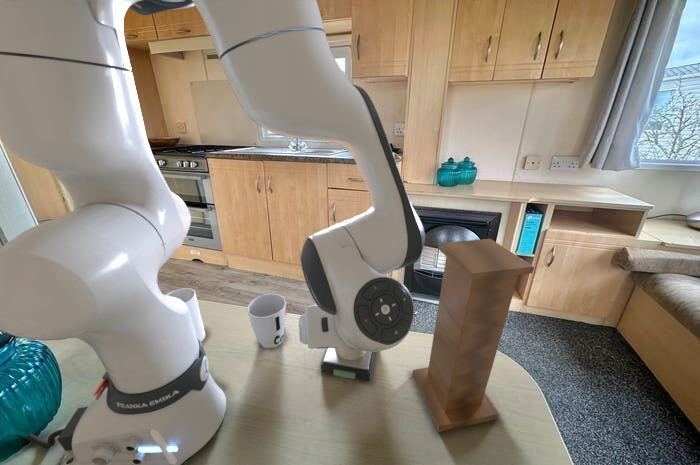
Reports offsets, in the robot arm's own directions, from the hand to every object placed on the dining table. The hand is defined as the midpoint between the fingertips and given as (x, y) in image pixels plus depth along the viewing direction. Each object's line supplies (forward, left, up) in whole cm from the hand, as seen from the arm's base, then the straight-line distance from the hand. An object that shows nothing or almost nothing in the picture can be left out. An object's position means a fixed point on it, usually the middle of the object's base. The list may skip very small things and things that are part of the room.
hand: (349, 325), depth 57 cm
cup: (-17, +8, -8) cm, 20 cm away
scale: (0, -1, -8) cm, 8 cm away
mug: (-36, +10, -8) cm, 38 cm away
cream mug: (0, +1, -5) cm, 5 cm away
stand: (+17, -13, -8) cm, 23 cm away
